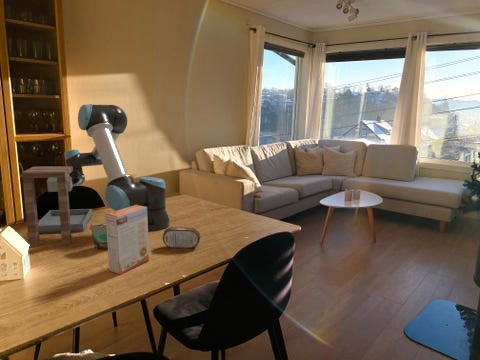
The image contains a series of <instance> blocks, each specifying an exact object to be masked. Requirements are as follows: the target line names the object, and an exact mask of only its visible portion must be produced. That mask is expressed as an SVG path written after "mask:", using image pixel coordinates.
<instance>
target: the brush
mask: <svg viewBox="0 0 480 360" xmlns="http://www.w3.org/2000/svg"><path fill="white" fill-rule="evenodd" d="M67 182H68V192H71V191H72V189H73V187H74V186H73V185H72V178H71V177H67ZM46 185H47V192H49V193H51V192H52V193H53V192H57V193H58V185H57V178H47V180H46Z"/></svg>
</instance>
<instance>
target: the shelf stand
mask: <svg viewBox="0 0 480 360" xmlns="http://www.w3.org/2000/svg"><path fill="white" fill-rule="evenodd" d="M72 171H73V166H66V165H65V166H64V165H63V166H61V165H60V166H58V165H57V166H56V165H55V166H54V165H53V166H51V165H50V166H49V165H48V166H44V165H43V166H32V167H30V168H28V169H26V170H24V171H22V172H21V179H22V187H23V196H24V197H23V199H24V206H25V207H24V208H25V218H26V219H25V220H26V229H27V230H26V231H27V236H28V237H27V238H28V239H27V240H28V245H29V244H30V246H31V247H30V248H36V247H37V248H38V247H39V245H40V244H41V242H40V233H39V229H38V222H39V221H38V220H39V219H38V218H39V217H38V211H37V210H38V209H37V208H38V207H37V200H36V199H37V197H36V188H35V187H36V186H35V179H40V178H41V179H44V178H45V179H48V178H57V185H58V192H57V196H58V197H57V198H58V210H59V211H60V224H61V232H60V235H61V236H60V237H61V245H62V246H70V245H72V242H73V241H72V238H73V237H72V232H71V224H70V210H71V209H70V198H69V191H68V182H67V175H68V174H70V173H71V172H72Z"/></svg>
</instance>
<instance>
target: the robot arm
mask: <svg viewBox="0 0 480 360" xmlns="http://www.w3.org/2000/svg"><path fill="white" fill-rule="evenodd" d="M77 125H78V128H79V130H81V131H85V132H86V134H87V136H88V137H91V138H92V140H93V142H94V145H95V146H94V147H93V149H92V150H91V152H80V151H79V149H68V150H66V151H64V161H65V166H73V171H72V172H71V173H70V174H68V175H67V177H71V178H72V186H73V187H77V186H78V187H79V186H81V185H84V183H85V182H86V177H85V176H86V175H85V174H84V172H83V170H84V169H83V167H91V166H92V167H93V166H103V167H102V168H104V172H105V173H106V174H105V175H106V177H107V179H108V182H107V184H106V188H104V189H105V191H104V195H105V202H106V203H107V204H108V206H109V208H110V209H111V210H113V211H118V210H121V209H124V208H127V207H131V206H134V205H140V206H144V207H147V220H148V231H159V230H164V229H168V228H169V226H170V224H171V223H170V221H171V220H170V217H169V215H168V213H167V209H166V208H167V206H166V204H167V203H166V202H167V201H166V189H167V188H166V182H165V179H163V178H160V177H153V176H152V177H151V176H141V177H139V179H138V181H135V179H134V177H133V176H132V175H130V174H128V171H127V169H126V167H125V164H124V162H123V158H122V156H121V153H120V151H119V149H118V146H117V143H116V140H117V139H118V138H119V136H120V135H121V134H123V133H124V132H125V131H126V128H127V127H128V116H127V114H126V112H125V111H124V110H123V108H121V107H120V106H119V105H115V104H91V103H90V104H89V103H88V104H82V105H81V106H80V108H79V110H78V114H77Z"/></svg>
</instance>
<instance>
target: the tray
mask: <svg viewBox="0 0 480 360" xmlns="http://www.w3.org/2000/svg"><path fill="white" fill-rule="evenodd" d="M69 210H70V224H71V233H75V232H76V233H77V232H79V233H80V232H85V229H86V227H88V224H89V222H90V221H91V218H92V217H93V209H92V208H86V209H85V208H81V209H80V208H79V209H69ZM38 229H39V234H53V233H55V234H58V233H61V224H60V211H59V209H56V210H54V209H52V210H51V209H50V210H49V211H48V212H46V214H45V215H44V216H43V217H42V218H41V219H39V221H38Z"/></svg>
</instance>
